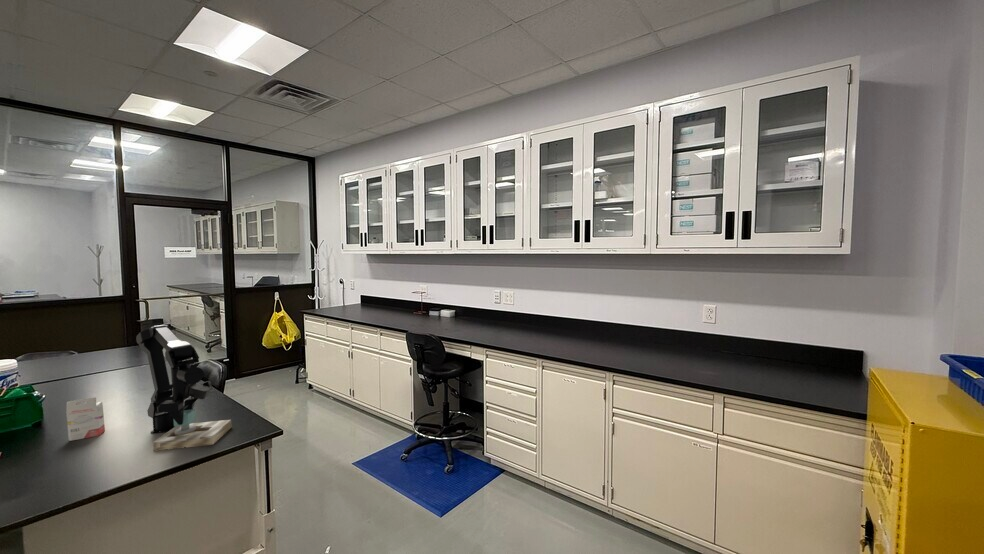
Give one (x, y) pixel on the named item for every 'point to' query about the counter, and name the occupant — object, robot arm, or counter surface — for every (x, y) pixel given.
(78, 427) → the ink cartridge box
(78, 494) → the counter surface
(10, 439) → the counter surface
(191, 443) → the keyhole board
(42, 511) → the counter surface
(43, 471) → the counter surface
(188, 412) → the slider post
